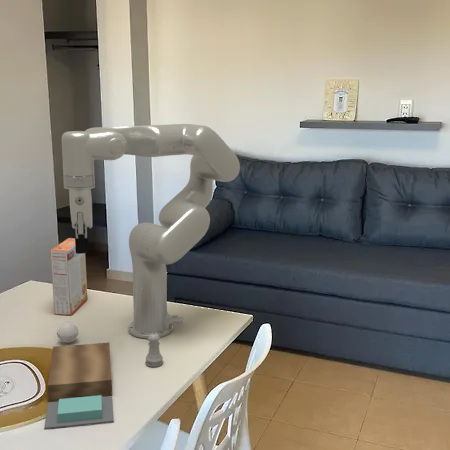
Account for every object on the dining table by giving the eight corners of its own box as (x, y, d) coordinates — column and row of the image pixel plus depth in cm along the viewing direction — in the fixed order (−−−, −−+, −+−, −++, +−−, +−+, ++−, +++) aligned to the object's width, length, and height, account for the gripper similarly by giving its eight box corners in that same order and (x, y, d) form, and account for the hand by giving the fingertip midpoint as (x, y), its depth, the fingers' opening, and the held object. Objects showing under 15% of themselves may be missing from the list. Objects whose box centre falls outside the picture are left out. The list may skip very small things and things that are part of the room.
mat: (112, 398, 133) (112, 396, 133) (113, 422, 124) (113, 420, 124) (48, 404, 130) (47, 402, 130) (44, 429, 121) (44, 427, 121)
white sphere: (59, 338, 164) (58, 319, 162) (80, 337, 164) (79, 318, 163) (54, 350, 156) (53, 330, 155) (76, 349, 157) (75, 330, 156)
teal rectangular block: (101, 409, 124) (102, 418, 125) (101, 395, 130) (101, 403, 130) (57, 414, 122) (57, 422, 123) (59, 399, 128) (59, 407, 128)
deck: (109, 356, 153) (109, 342, 152) (112, 395, 134) (111, 379, 133) (53, 361, 150) (53, 346, 149) (48, 401, 131) (47, 385, 130)
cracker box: (70, 298, 193) (67, 237, 188) (88, 299, 192) (85, 238, 187) (52, 314, 180) (49, 249, 175) (71, 316, 179) (68, 250, 174)
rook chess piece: (155, 369, 147) (155, 339, 145) (141, 364, 149) (141, 335, 147) (166, 362, 151) (166, 333, 149) (152, 358, 153) (152, 329, 151)
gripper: (94, 186, 140) (97, 260, 144) (94, 176, 154) (97, 244, 158) (62, 187, 138) (65, 261, 142) (65, 177, 152) (68, 245, 157)
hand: (82, 252), depth 150 cm, fingers closed
